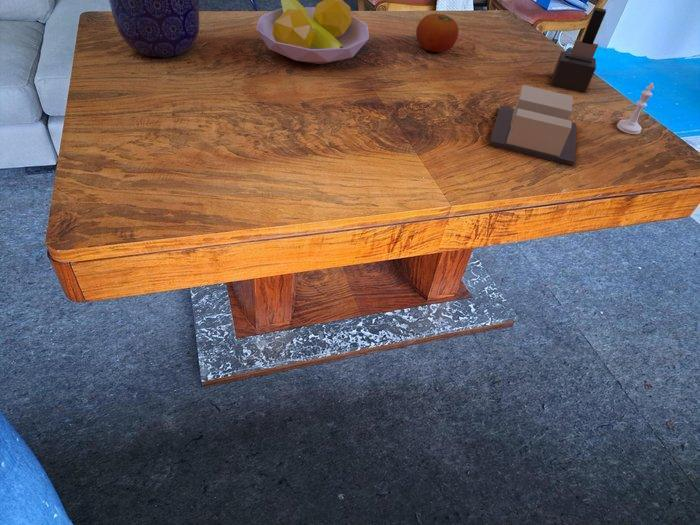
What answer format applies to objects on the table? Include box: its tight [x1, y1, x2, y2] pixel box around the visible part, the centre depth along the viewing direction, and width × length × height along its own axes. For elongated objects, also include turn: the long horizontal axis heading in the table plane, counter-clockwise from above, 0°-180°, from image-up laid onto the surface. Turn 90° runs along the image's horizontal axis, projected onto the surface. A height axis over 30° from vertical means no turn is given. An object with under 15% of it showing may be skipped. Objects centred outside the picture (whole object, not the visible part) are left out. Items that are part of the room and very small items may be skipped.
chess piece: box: [616, 82, 655, 135], centre depth 105 cm, size 5×5×10 cm
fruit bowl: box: [255, 0, 370, 65], centre depth 120 cm, size 28×27×11 cm
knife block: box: [550, 50, 597, 94], centre depth 120 cm, size 8×6×6 cm
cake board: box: [488, 105, 577, 167], centre depth 102 cm, size 16×16×1 cm
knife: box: [569, 7, 607, 63], centre depth 116 cm, size 5×2×17 cm, turn 71°
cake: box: [510, 84, 574, 127], centre depth 102 cm, size 10×7×6 cm
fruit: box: [415, 12, 459, 53], centre depth 128 cm, size 11×10×8 cm
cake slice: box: [507, 108, 573, 156], centre depth 96 cm, size 10×3×6 cm, turn 71°
